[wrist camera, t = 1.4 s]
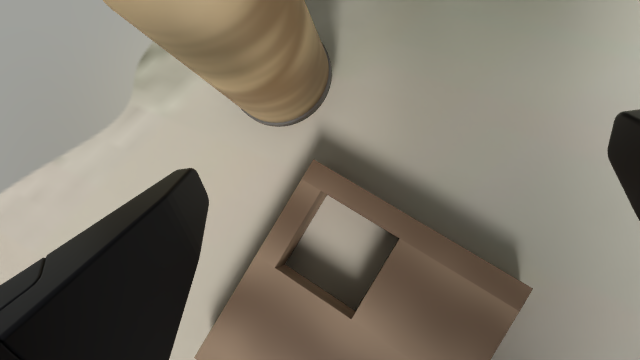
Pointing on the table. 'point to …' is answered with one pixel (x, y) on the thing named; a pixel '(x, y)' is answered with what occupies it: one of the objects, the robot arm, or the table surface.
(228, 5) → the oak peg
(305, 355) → the walnut board
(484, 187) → the table surface
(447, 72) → the table surface
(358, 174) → the table surface
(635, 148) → the robot arm
